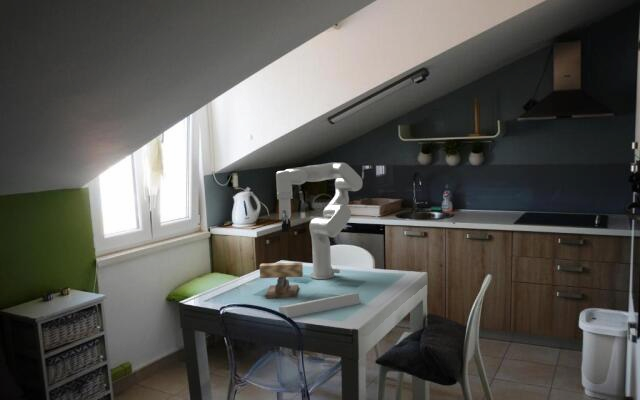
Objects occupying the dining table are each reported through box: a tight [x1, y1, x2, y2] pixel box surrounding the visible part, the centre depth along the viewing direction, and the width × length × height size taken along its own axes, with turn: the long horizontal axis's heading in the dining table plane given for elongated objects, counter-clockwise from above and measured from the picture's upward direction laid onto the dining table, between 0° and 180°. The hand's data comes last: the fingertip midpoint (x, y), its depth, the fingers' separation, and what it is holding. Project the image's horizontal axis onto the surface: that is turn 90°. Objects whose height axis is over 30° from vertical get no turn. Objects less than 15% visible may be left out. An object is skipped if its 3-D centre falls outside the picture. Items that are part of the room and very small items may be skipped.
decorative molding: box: [278, 292, 361, 318], centre depth 225 cm, size 34×5×10 cm
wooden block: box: [259, 261, 304, 279], centre depth 248 cm, size 20×4×6 cm, turn 87°
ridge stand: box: [264, 277, 300, 299], centre depth 249 cm, size 14×16×8 cm
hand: (286, 230), depth 258 cm, fingers open, 9 cm apart
